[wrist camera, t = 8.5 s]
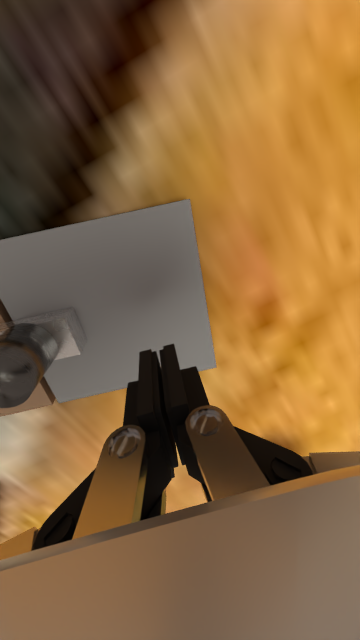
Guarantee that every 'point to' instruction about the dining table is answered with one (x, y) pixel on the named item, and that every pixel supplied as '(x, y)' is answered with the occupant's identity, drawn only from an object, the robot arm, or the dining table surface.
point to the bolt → (35, 351)
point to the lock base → (111, 296)
